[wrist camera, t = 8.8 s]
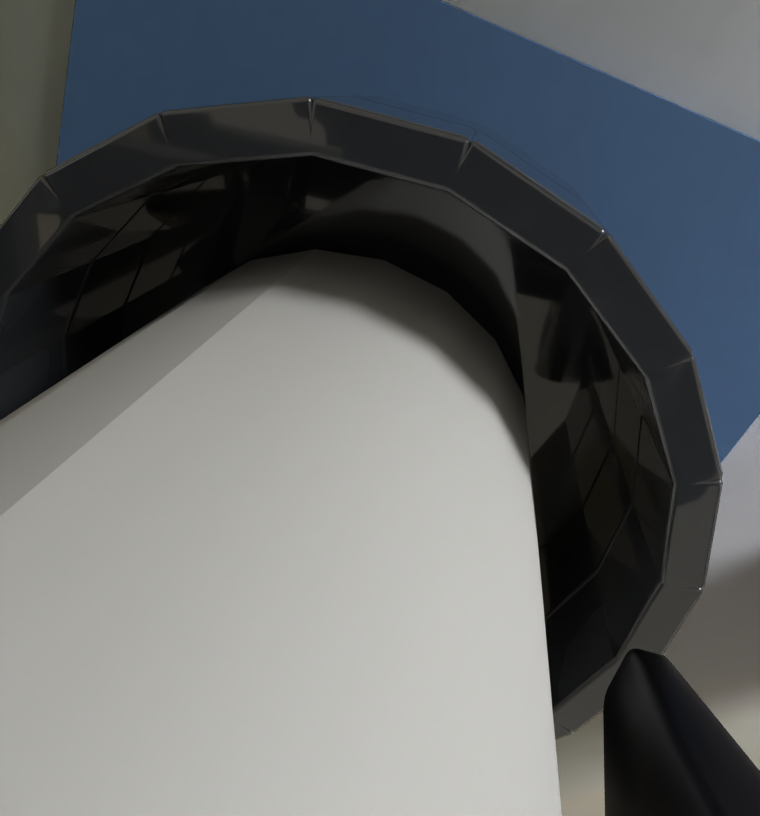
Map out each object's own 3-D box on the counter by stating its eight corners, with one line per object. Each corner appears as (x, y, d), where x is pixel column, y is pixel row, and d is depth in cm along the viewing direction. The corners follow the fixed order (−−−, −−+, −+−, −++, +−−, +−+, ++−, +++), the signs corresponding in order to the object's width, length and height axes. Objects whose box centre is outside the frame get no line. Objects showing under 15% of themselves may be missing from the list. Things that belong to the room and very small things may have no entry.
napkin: (20, 511, 16) (14, 516, 16) (99, -149, 10) (93, -153, 10) (515, 717, 17) (515, 723, 17) (912, 209, 10) (920, 211, 10)
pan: (48, 444, 15) (-110, 569, 11) (238, -47, 10) (69, -137, 6) (437, 669, 16) (418, 854, 12) (783, 330, 11) (938, 458, 7)
